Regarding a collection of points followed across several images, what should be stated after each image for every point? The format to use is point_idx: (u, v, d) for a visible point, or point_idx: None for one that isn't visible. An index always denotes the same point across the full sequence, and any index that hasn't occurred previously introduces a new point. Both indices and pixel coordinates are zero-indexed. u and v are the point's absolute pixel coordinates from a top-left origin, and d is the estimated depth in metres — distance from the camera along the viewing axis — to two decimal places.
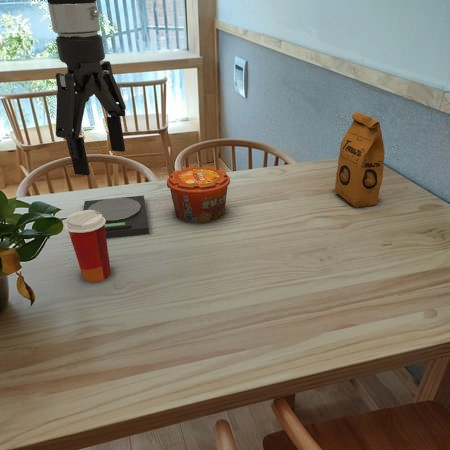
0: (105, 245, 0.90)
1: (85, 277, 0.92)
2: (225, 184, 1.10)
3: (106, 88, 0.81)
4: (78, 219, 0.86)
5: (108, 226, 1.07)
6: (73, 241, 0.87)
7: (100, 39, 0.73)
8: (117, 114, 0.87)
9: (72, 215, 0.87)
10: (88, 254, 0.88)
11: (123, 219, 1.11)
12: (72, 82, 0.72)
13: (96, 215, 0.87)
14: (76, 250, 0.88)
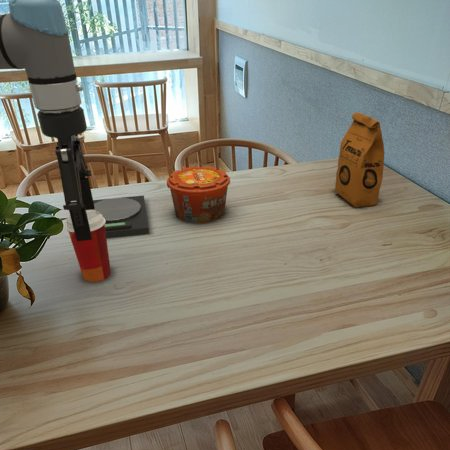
0: (105, 245, 0.90)
1: (85, 277, 0.92)
2: (225, 184, 1.10)
3: (82, 153, 0.83)
4: None
5: (108, 226, 1.07)
6: (73, 241, 0.87)
7: (83, 110, 0.76)
8: (84, 175, 0.89)
9: None
10: (88, 254, 0.88)
11: (123, 219, 1.11)
12: (72, 155, 0.74)
13: (96, 215, 0.87)
14: (76, 250, 0.88)
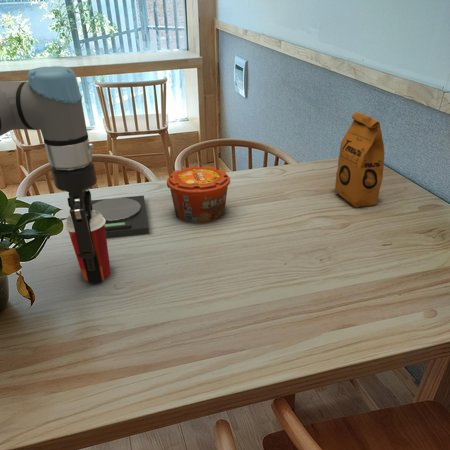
0: (105, 245, 0.90)
1: (85, 277, 0.92)
2: (225, 184, 1.10)
3: None
4: None
5: (108, 226, 1.07)
6: (73, 241, 0.87)
7: None
8: None
9: None
10: None
11: (123, 219, 1.11)
12: (85, 213, 0.80)
13: (96, 215, 0.87)
14: (76, 250, 0.88)
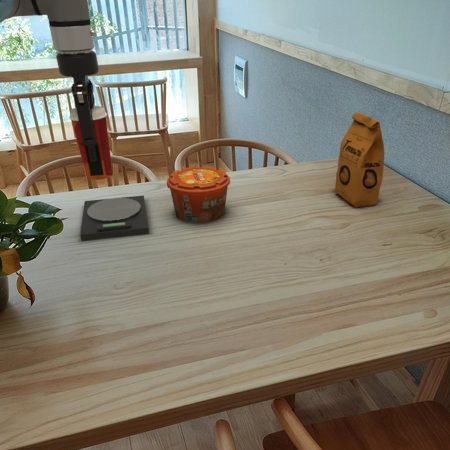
0: (106, 139, 0.95)
1: (88, 172, 0.97)
2: (225, 184, 1.10)
3: (94, 100, 0.93)
4: None
5: (108, 226, 1.07)
6: (76, 132, 0.92)
7: None
8: None
9: None
10: None
11: (123, 219, 1.11)
12: (87, 97, 0.86)
13: (98, 108, 0.92)
14: (79, 142, 0.93)
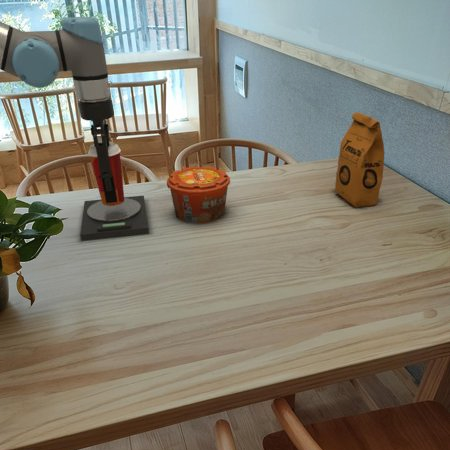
0: (120, 171, 1.09)
1: (103, 199, 1.11)
2: (225, 184, 1.10)
3: (109, 137, 1.07)
4: None
5: (108, 226, 1.07)
6: (94, 166, 1.06)
7: None
8: None
9: (93, 145, 1.07)
10: None
11: (123, 219, 1.11)
12: (105, 138, 1.00)
13: (113, 145, 1.07)
14: (96, 174, 1.07)
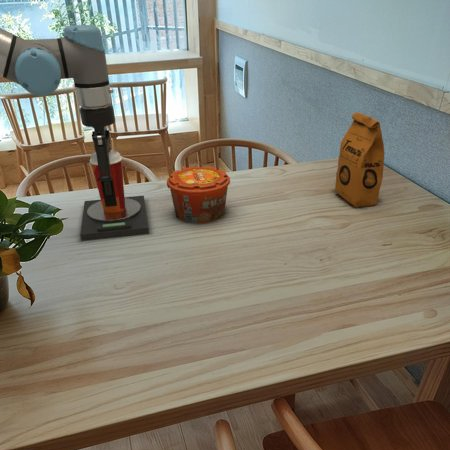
0: (121, 178, 1.10)
1: (104, 206, 1.13)
2: (225, 184, 1.10)
3: None
4: None
5: (108, 226, 1.07)
6: (96, 174, 1.07)
7: None
8: None
9: (95, 153, 1.08)
10: None
11: (123, 219, 1.11)
12: (105, 140, 1.00)
13: (114, 153, 1.08)
14: (98, 182, 1.09)
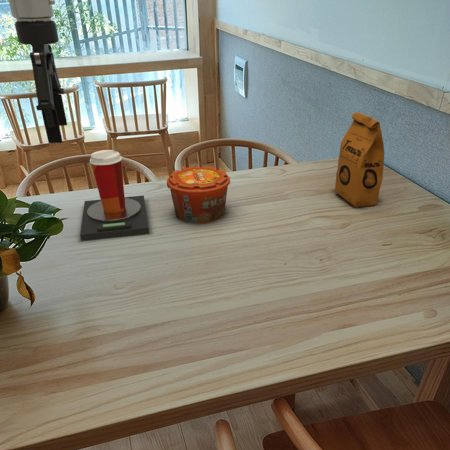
0: (121, 178, 1.10)
1: (104, 206, 1.13)
2: (225, 184, 1.10)
3: (55, 67, 0.94)
4: (100, 155, 1.06)
5: (108, 226, 1.07)
6: (96, 174, 1.07)
7: (55, 23, 0.87)
8: (58, 91, 1.00)
9: (95, 153, 1.08)
10: (108, 185, 1.08)
11: (123, 219, 1.11)
12: (45, 60, 0.85)
13: (114, 153, 1.08)
14: (98, 182, 1.09)
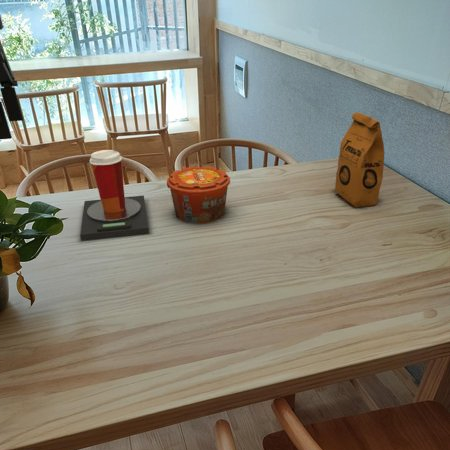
0: (121, 178, 1.10)
1: (104, 206, 1.13)
2: (225, 184, 1.10)
3: (3, 57, 0.87)
4: (100, 155, 1.06)
5: (108, 226, 1.07)
6: (96, 174, 1.07)
7: None
8: (10, 84, 0.93)
9: (95, 153, 1.08)
10: (108, 185, 1.08)
11: (123, 219, 1.11)
12: None
13: (114, 153, 1.08)
14: (98, 182, 1.09)
